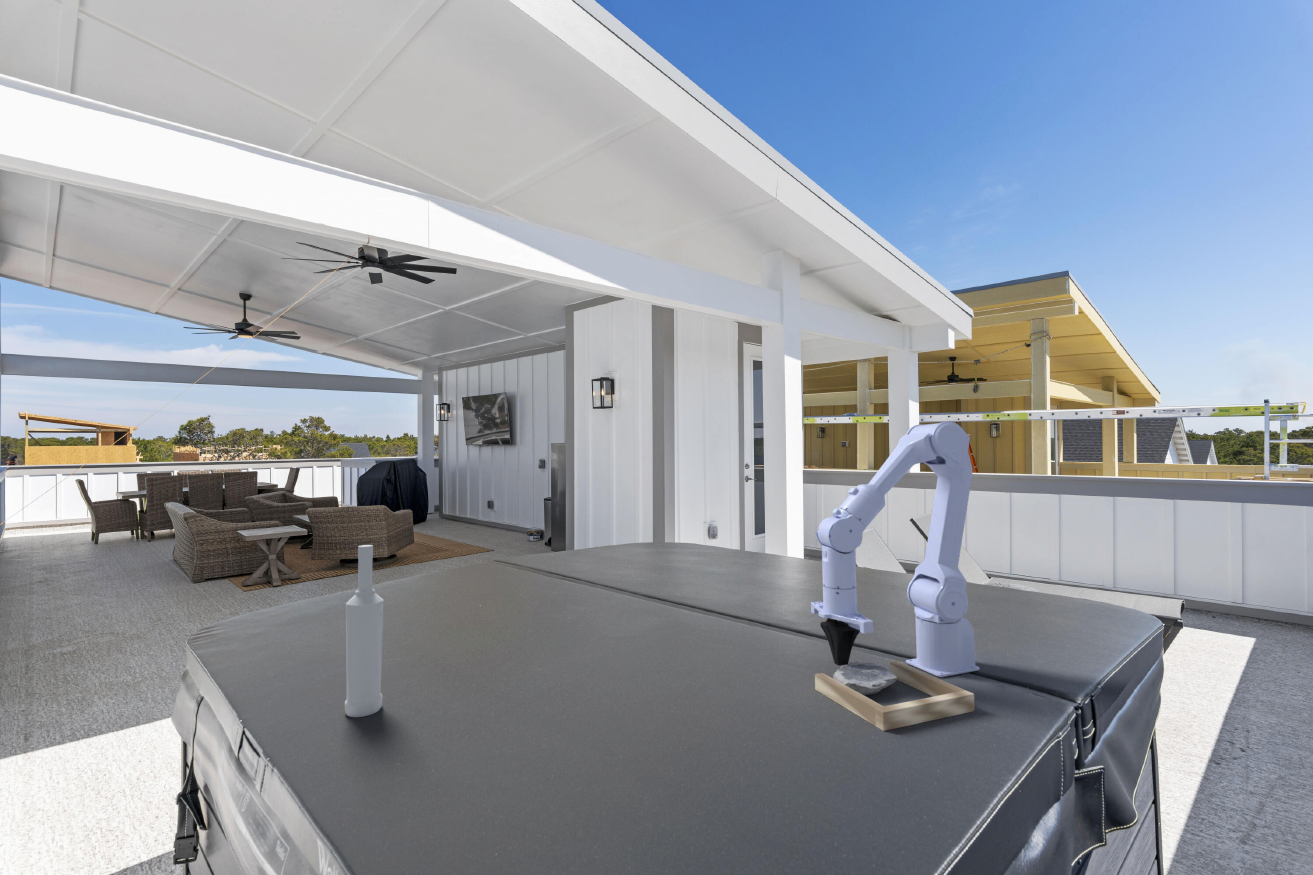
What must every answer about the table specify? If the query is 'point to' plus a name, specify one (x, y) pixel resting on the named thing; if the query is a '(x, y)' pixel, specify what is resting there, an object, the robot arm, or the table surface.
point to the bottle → (364, 642)
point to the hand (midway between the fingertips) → (841, 663)
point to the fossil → (864, 677)
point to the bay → (939, 706)
